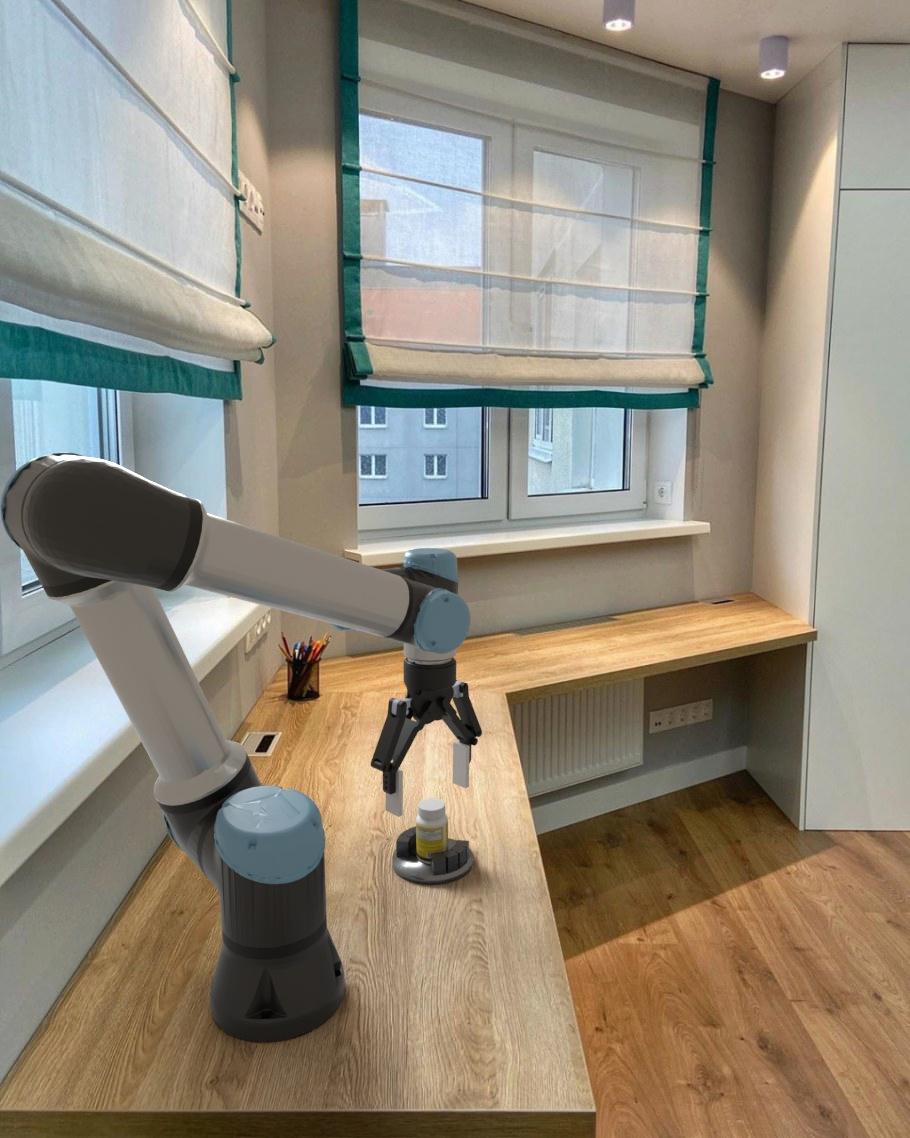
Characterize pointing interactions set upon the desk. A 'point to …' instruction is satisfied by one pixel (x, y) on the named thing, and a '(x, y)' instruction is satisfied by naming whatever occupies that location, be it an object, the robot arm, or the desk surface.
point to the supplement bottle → (431, 829)
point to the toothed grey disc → (442, 864)
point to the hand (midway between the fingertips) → (428, 798)
